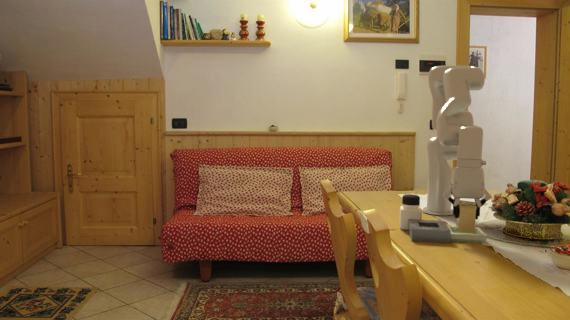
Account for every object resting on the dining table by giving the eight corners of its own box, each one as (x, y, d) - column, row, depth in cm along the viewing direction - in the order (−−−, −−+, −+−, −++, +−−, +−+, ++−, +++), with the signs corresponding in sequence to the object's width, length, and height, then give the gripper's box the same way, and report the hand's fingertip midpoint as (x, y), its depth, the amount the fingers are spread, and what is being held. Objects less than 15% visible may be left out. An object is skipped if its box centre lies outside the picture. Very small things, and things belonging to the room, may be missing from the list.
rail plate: (407, 230, 167) (408, 219, 167) (443, 232, 165) (443, 220, 165) (411, 240, 153) (412, 228, 153) (450, 243, 151) (450, 230, 151)
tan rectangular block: (455, 228, 161) (456, 202, 160) (471, 229, 160) (473, 203, 159) (458, 232, 156) (459, 205, 155) (475, 233, 155) (477, 206, 154)
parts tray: (445, 232, 165) (445, 225, 164) (478, 234, 163) (478, 227, 162) (450, 241, 154) (450, 233, 154) (486, 243, 152) (486, 235, 152)
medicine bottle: (420, 230, 167) (422, 197, 165) (400, 229, 168) (401, 196, 167) (419, 226, 174) (420, 193, 172) (399, 224, 175) (400, 192, 174)
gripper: (493, 163, 158) (490, 216, 160) (440, 161, 161) (437, 214, 163) (499, 166, 151) (496, 222, 153) (443, 164, 153) (440, 219, 155)
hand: (465, 217), depth 158 cm, fingers open, 5 cm apart
